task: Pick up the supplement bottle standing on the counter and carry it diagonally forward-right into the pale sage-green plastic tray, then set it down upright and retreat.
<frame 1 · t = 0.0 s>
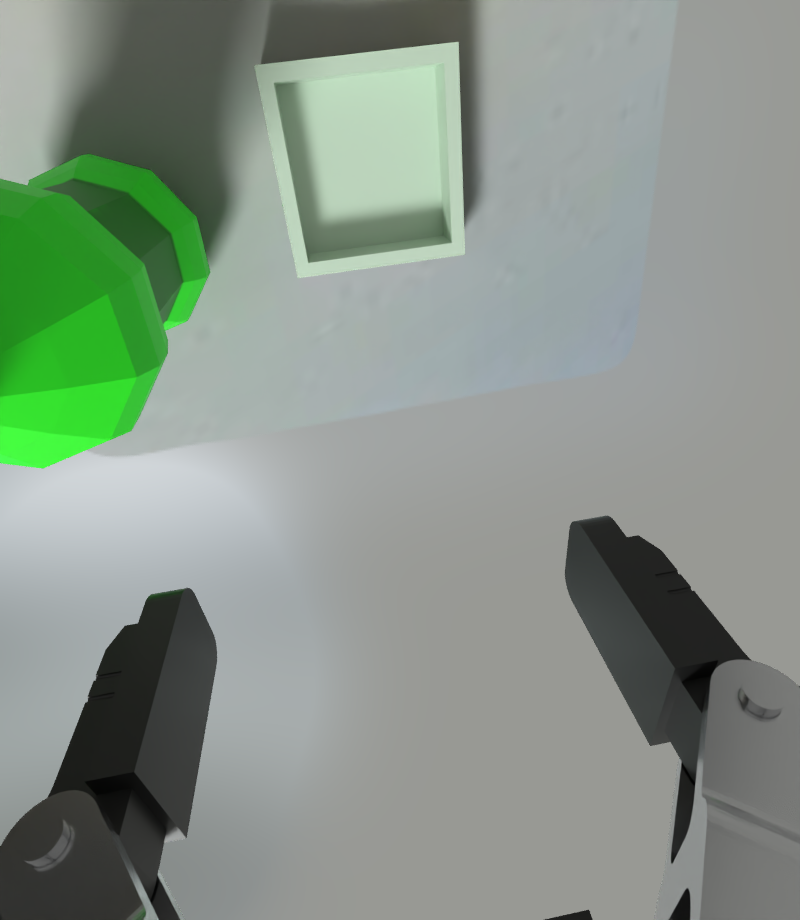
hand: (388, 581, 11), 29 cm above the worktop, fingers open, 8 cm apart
tray: (366, 165, 32), on the worktop
plastic bottle: (137, 240, 33), on the worktop
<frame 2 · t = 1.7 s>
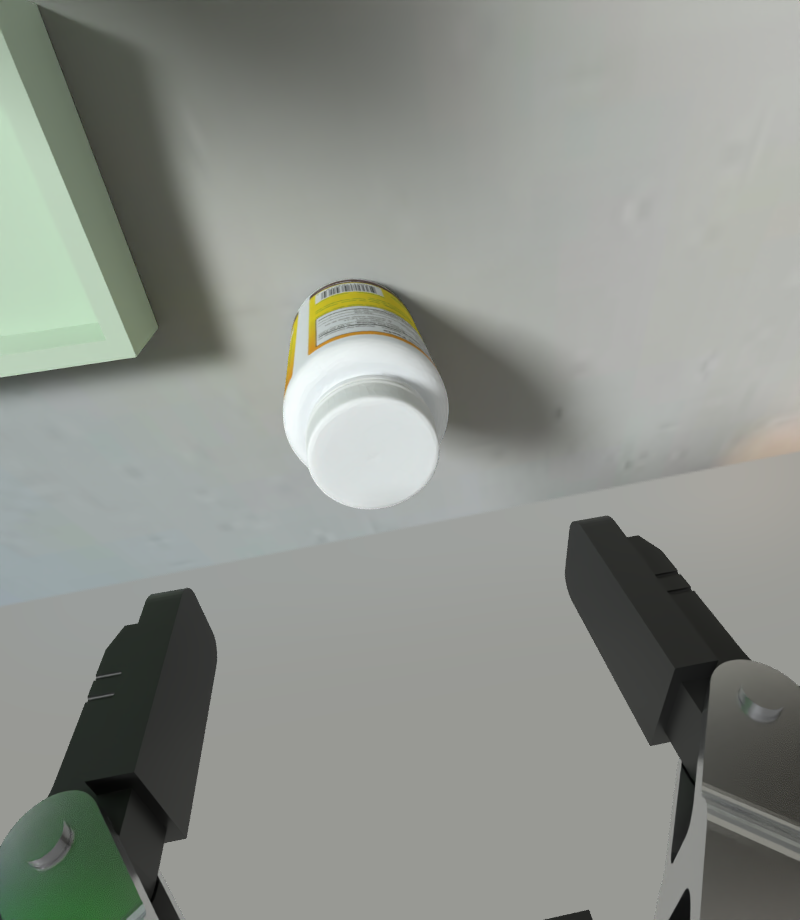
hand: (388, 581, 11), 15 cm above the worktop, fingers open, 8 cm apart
supplement bottle: (353, 335, 24), on the worktop
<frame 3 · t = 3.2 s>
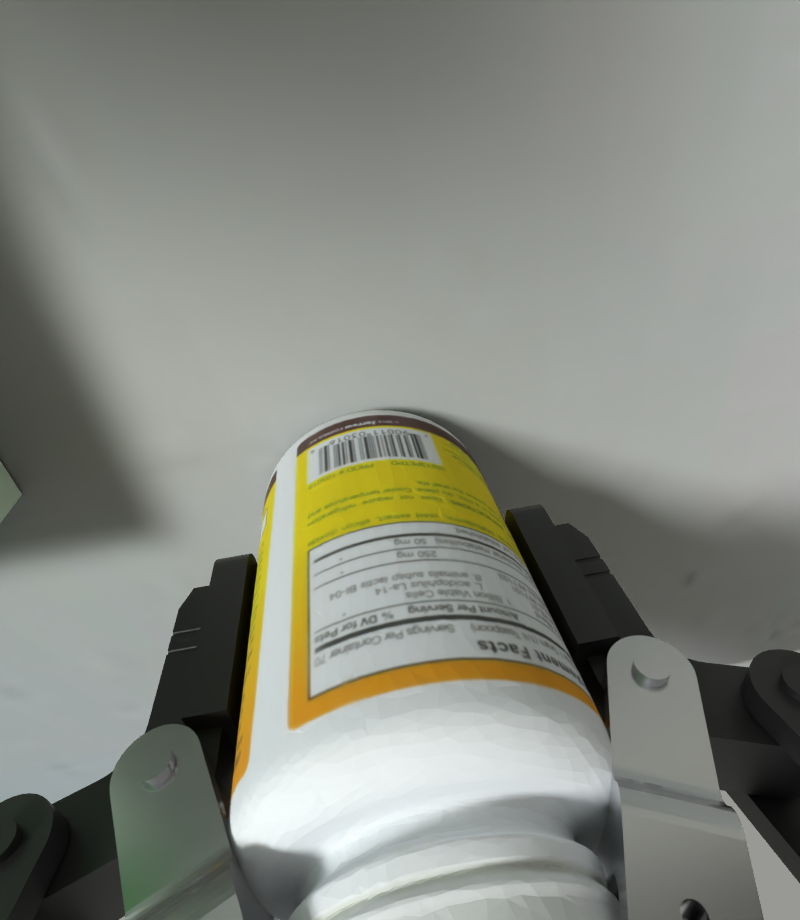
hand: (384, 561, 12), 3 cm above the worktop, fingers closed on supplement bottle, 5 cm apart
supplement bottle: (374, 489, 14), on the worktop, touching gripper
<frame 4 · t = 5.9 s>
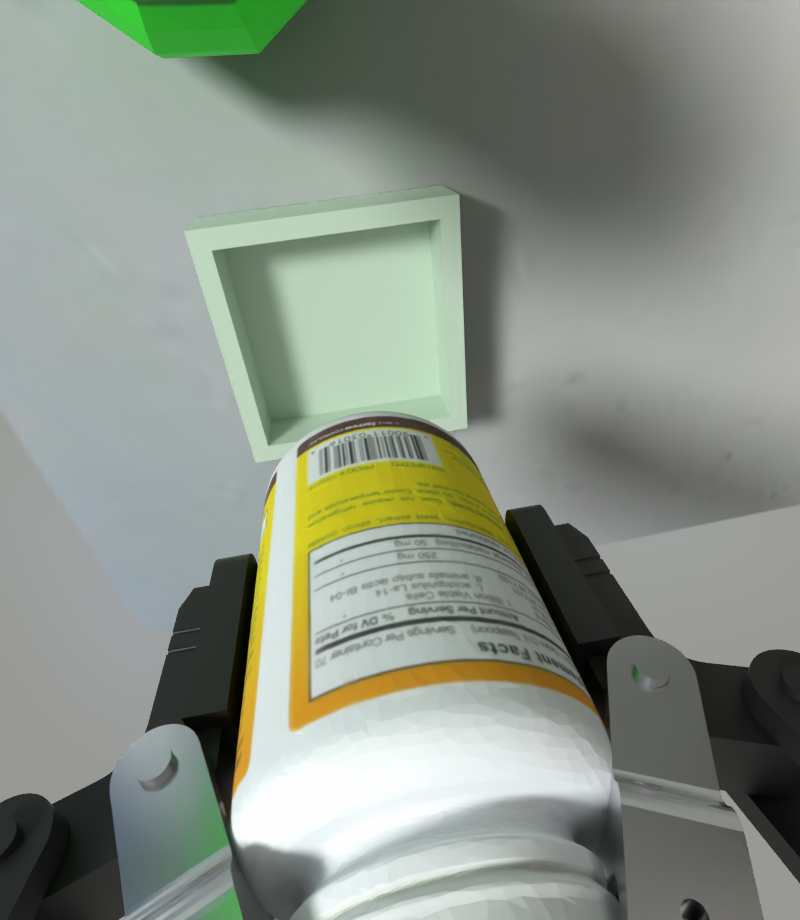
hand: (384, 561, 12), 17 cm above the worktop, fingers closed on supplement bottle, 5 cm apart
supplement bottle: (374, 490, 14), point 14 cm above the worktop, touching gripper
tray: (342, 319, 26), on the worktop
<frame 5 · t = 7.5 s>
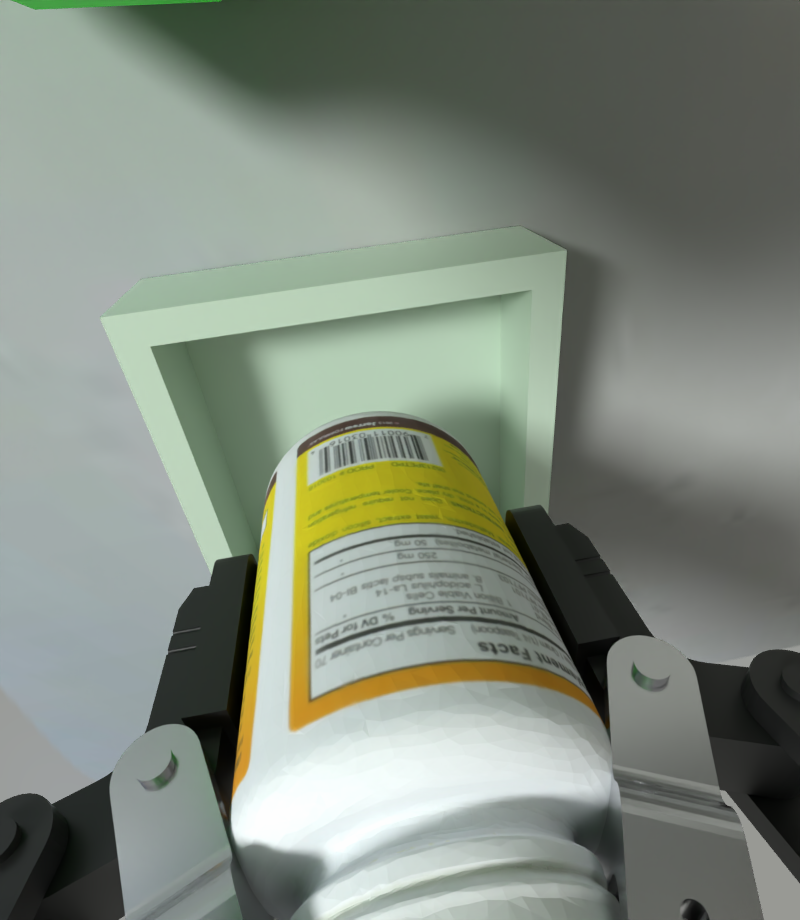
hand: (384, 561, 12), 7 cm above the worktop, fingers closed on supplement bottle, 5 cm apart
supplement bottle: (374, 490, 14), point 4 cm above the worktop, touching gripper
tray: (361, 417, 17), on the worktop
when the fingers open (4 cm above the worktop, at t = 8.6 s): supplement bottle drops 1 cm, resting on tray.
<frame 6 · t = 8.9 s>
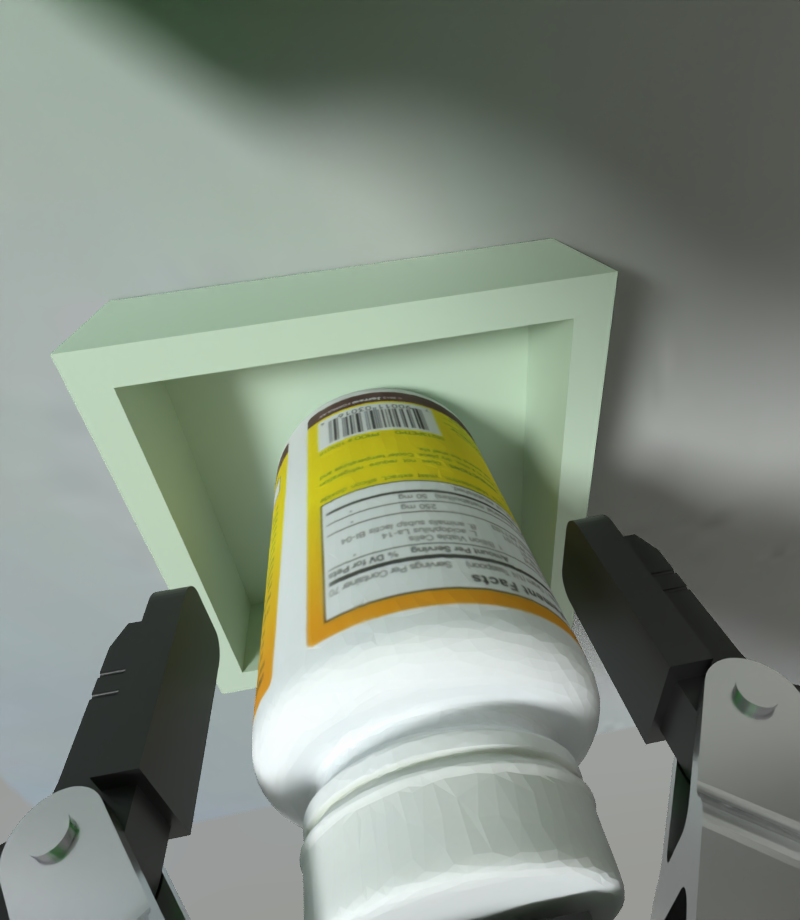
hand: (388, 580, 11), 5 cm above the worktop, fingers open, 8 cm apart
supplement bottle: (378, 464, 15), point 1 cm above the worktop, touching tray
tray: (366, 454, 15), on the worktop
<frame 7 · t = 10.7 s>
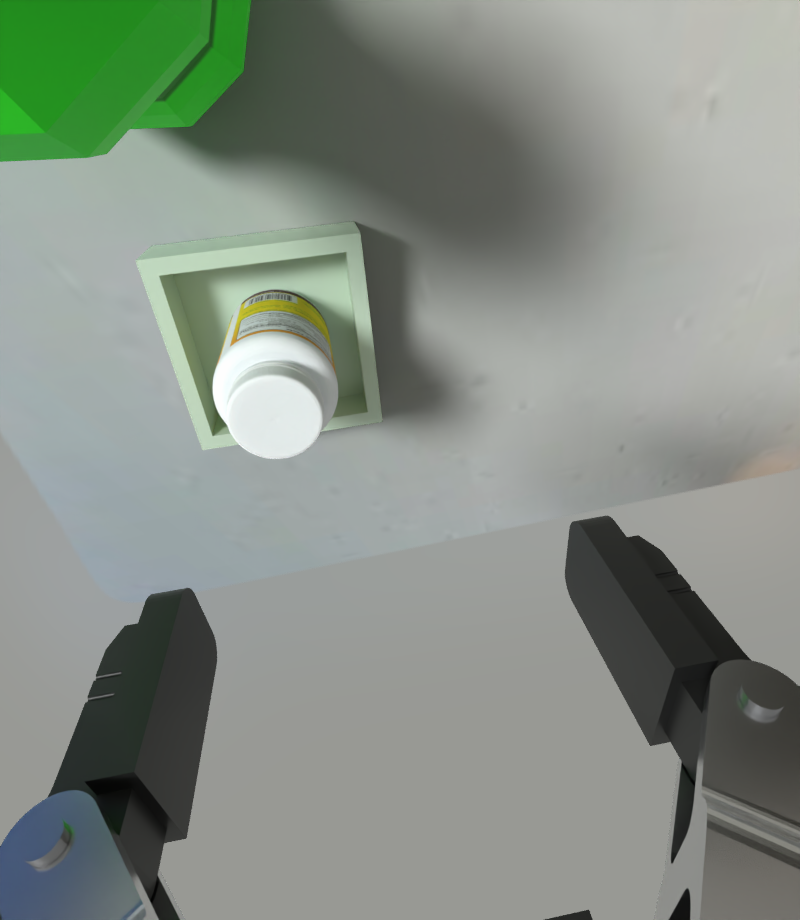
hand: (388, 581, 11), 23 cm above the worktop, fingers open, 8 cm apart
supplement bottle: (280, 333, 30), point 1 cm above the worktop, touching tray
tray: (276, 330, 31), on the worktop
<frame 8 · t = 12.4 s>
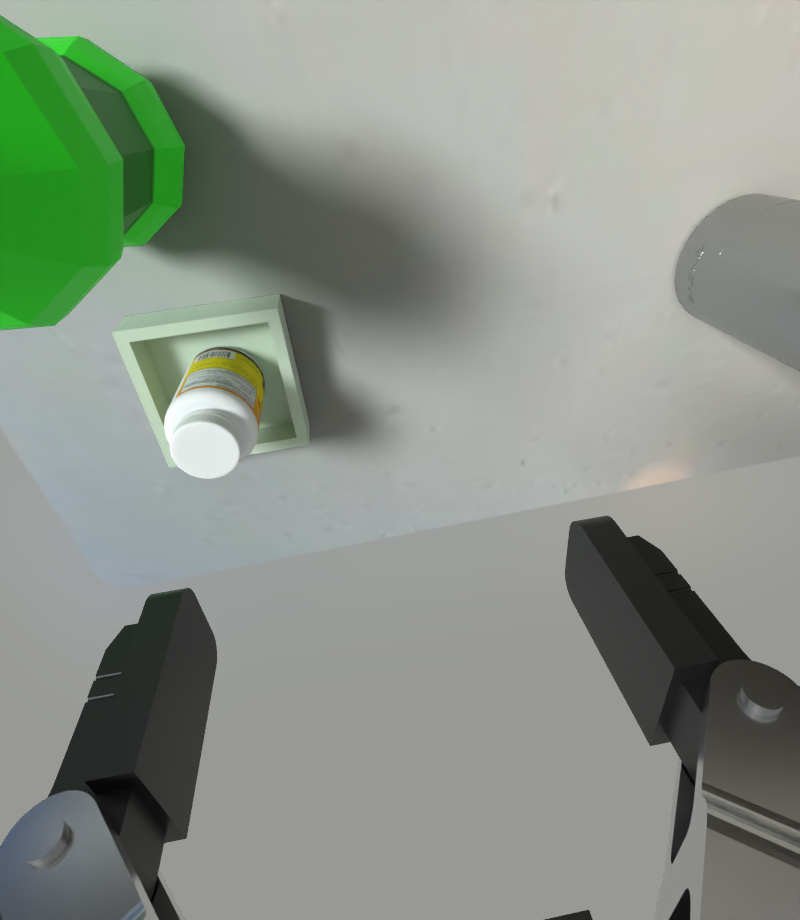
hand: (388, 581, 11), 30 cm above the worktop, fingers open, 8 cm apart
supplement bottle: (228, 377, 39), point 1 cm above the worktop, touching tray
tray: (225, 374, 39), on the worktop
plastic bottle: (111, 148, 31), on the worktop
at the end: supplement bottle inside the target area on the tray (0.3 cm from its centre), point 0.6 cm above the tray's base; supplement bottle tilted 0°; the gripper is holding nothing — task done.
